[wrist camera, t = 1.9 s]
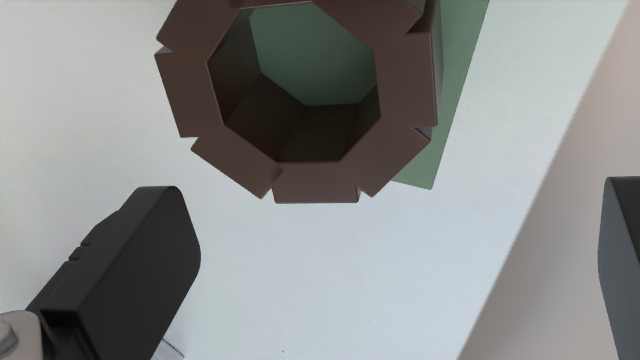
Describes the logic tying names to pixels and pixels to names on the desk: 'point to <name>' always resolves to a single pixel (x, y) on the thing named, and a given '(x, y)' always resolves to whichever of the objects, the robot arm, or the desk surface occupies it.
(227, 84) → the ring
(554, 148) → the desk surface
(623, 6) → the desk surface
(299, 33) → the riser
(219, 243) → the desk surface
